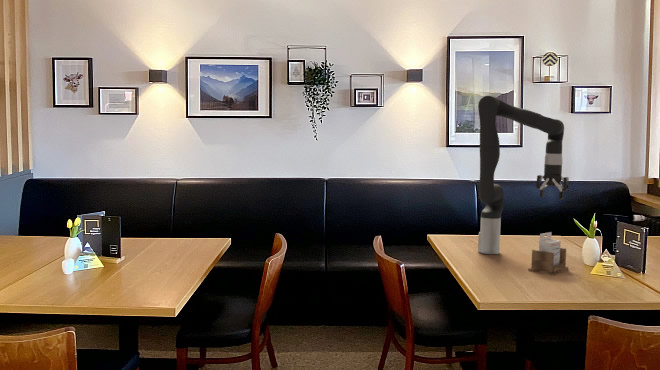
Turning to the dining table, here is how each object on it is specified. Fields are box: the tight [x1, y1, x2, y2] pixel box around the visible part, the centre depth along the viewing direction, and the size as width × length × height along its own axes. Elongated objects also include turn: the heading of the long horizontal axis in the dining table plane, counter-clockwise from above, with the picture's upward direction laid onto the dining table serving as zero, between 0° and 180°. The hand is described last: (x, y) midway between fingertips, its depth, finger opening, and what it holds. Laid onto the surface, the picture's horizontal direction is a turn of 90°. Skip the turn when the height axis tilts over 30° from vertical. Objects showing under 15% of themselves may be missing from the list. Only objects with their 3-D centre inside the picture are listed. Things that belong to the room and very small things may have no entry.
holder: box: [527, 247, 569, 276], centre depth 257 cm, size 11×15×9 cm
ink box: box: [538, 231, 562, 266], centre depth 256 cm, size 8×5×15 cm, turn 125°
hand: (551, 198), depth 275 cm, fingers open, 8 cm apart
